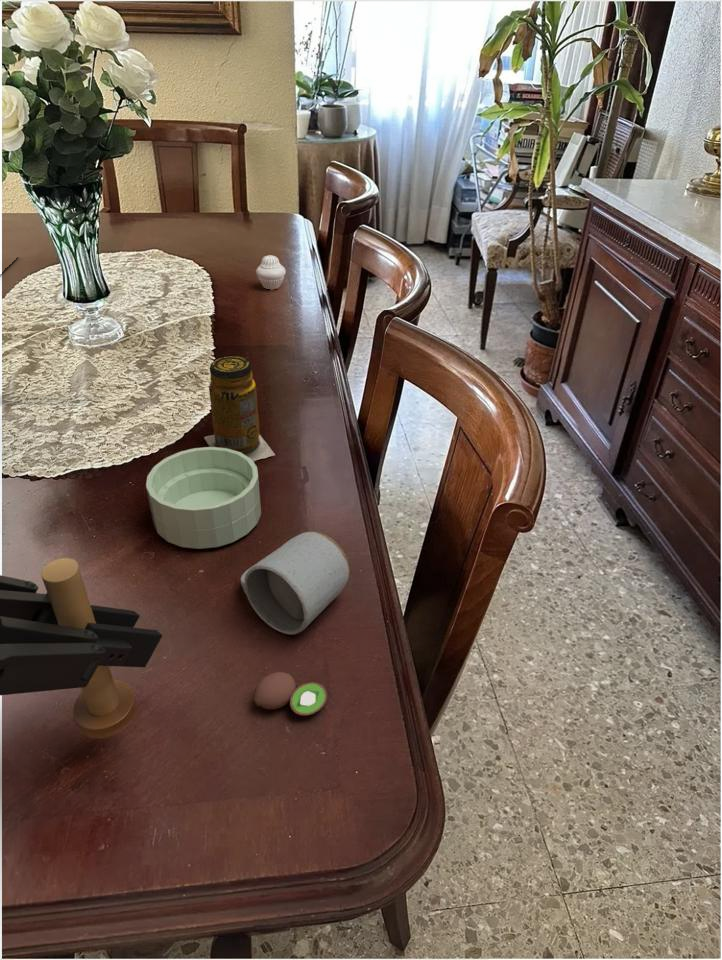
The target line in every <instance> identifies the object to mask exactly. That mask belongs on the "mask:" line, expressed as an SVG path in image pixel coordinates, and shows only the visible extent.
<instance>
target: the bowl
mask: <svg viewBox="0 0 722 960" xmlns="http://www.w3.org/2000/svg"><path fill="white" fill-rule="evenodd" d="M145 488H146V489H145V490H146V492H147V493H146V494H147V498H148V504H149V508H150V514H151V519H152V524H153V526H154V528H155V531H156V533H157V534H158V535H159V536H160V537H161V538H163V540H165V541H166V542H167V543H170V544H173V545H175V546H178V547H180V548H187V549H195V550H197V549H198V550H202V549H203V550H204V549H211V548H219V547H223V546H226V545H228V544H229V545H230V544H232V543H234V542H236V541H238V540H240V539H241V538H243V537H245V536H247V535H248V534H249V533H250V532H251V531H252V530H253V529H254V528H255V527H256V526H257V525H258V524H259V520H260V518H261V515H262V506H261V495H260V482H259V471H258V466H257V465H256V464H255V461H254V462H253V461H252V459H251V458H249V457H247V456H246V455H244V454H243V453H241V452H238V451H234V450H231V449H228V448H218V447H209V446H203V447H193V448H189V449H185V450H181V451H178V452H176V453H174V454H171V455H169V456H166V457H164V458H163V459H162V460H160V461H159V462H158V463H157V464H155V465H154V466H153V467H152V468H151V470H150V472H149V473H148V475H147V476H146V483H145Z"/></svg>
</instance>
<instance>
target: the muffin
mask: <svg viewBox="0 0 722 960" xmlns="http://www.w3.org/2000/svg"><path fill="white" fill-rule="evenodd" d="M286 271H287V270H286V268H285V267H284V266H283V264H281V262H280V260H279V258H278V257H277V256H275V255H271V254H269V255H265V256H263V257H262V259H261V263H260V265H258V266H257V268H256V270H255V273H256V275H257V278H258V280H259V282H260V283H261V285H262V287H263V288H266V289H275V288H279V287H280V288H281V285H282V284H283V282H284V279H285V275H286V273H287V272H286ZM280 288H279V289H280ZM266 289H265V290H266Z"/></svg>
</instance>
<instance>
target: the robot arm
mask: <svg viewBox="0 0 722 960" xmlns="http://www.w3.org/2000/svg"><path fill="white" fill-rule="evenodd" d="M38 590H39V586H38V585H37V584H36V583H35V582H33V581H31V580H25V579H20V578H16V577H15V578H14V577H11V576H6V575H1V574H0V696H8V695H19V694H29V693H39V692H49V691H51V692H52V691H59V690H60V691H61V690H69V689H81V688H82V687H86V686H87V685H88V683H89V681H90V679H91V678H92V676H93V674H94V672H95V671H96V669H97V667H98V666H109V667H122V668H124V667H125V668H126V667H127V668H146V667H147V665H148V663H149V661H150V660H151V657H152V656H153V654H154V652H155V650H156V648H157V646H158V645H159V643H160V641H161V640H162V638H163V634H162V633H161V632H160V631H159V630H158V629H149V628H140V627H135V626H136V624H137V622H138V620H139V619H140V617H141V615H140V614H139V613H137V612H136V610H130V609H124V608H116V607H109V606H100V605H93V604H90V605H91V609H92V612H93V615H94V619H95V622H96V624H95V623H87V626H86V628H85V629H80V628H73V627H67V626H60V625H59V624H58V622H57V619H56V616H55V613H54V610H53V607H52V605H51V602H50V599H49V596H48V593H47V592H46V593H39V592H38Z"/></svg>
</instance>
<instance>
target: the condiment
mask: <svg viewBox="0 0 722 960" xmlns="http://www.w3.org/2000/svg"><path fill="white" fill-rule="evenodd" d="M252 369H253V368H252V364H251V362H250V361H249V360H248V359H246V358H245V357H241V356H233V355H232V356H231V355H230V356H229V355H228V356H223V357H219V358H216V359H215V360H213V361H212V362H211V363H210V365H209V373H210V376H209V378H210V383H209V385H208V393H209V400H210V410H211V417H212V427H213V434H211V435H206V436H204V437H203V438H204V440H205V441H206V443H207V445H208V447H218V448H228V449H231V450H234V451H238V452H241V453H243V454H244V455H246V456H247V457H249V458H251V459H252V461H253V462H254V463H255V462H256V461H258V460H261V459H262V460H264V459H267V458H269V457H274V456H276V454H275V452H274V451H273V450H272V448H271V446H269V444H268V443H267V442H266V441H265V440H264V438H263V437H262V435H261V434H260V419H259V417H260V416H259V408H258V393H257V385H256V384H257V383H256V382H255V380H254V379H253V372H252Z"/></svg>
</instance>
